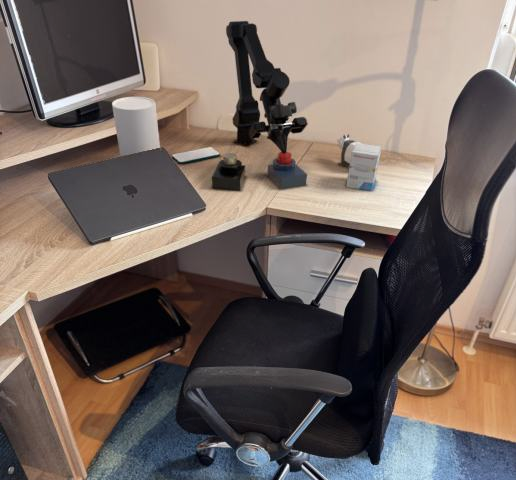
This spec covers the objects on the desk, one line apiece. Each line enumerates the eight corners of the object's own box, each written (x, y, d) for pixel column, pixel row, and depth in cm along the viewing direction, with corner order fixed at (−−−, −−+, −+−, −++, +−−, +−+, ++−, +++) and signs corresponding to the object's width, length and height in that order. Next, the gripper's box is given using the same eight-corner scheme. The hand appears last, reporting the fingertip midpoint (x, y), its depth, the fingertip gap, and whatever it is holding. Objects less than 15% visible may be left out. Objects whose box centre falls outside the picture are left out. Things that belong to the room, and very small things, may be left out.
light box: (219, 174, 168) (218, 157, 164) (245, 176, 167) (245, 159, 164) (212, 188, 159) (211, 171, 156) (240, 191, 159) (240, 174, 155)
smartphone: (180, 165, 173) (221, 156, 179) (179, 162, 172) (221, 154, 178) (171, 157, 178) (211, 149, 184) (170, 154, 177) (211, 146, 183)
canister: (167, 168, 170) (161, 106, 157) (130, 175, 165) (120, 112, 152) (152, 154, 179) (145, 94, 165) (116, 161, 173) (106, 99, 160)
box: (266, 175, 168) (267, 159, 164) (290, 171, 171) (291, 155, 167) (281, 189, 160) (282, 172, 157) (306, 185, 163) (307, 168, 159)
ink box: (375, 181, 167) (382, 146, 159) (371, 191, 161) (378, 155, 153) (350, 177, 169) (356, 142, 161) (345, 186, 163) (351, 151, 155)
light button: (224, 160, 163) (224, 152, 161) (238, 162, 163) (238, 153, 161) (222, 166, 160) (222, 157, 158) (235, 167, 160) (235, 158, 158)
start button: (275, 161, 164) (275, 152, 163) (287, 159, 166) (288, 151, 164) (281, 166, 161) (281, 157, 160) (293, 164, 163) (293, 155, 161)
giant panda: (367, 171, 173) (372, 143, 167) (354, 174, 171) (359, 146, 164) (342, 156, 182) (346, 129, 176) (329, 159, 180) (333, 132, 174)
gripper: (253, 95, 151) (266, 144, 151) (307, 90, 157) (320, 137, 157) (243, 114, 162) (255, 160, 162) (295, 109, 167) (306, 153, 167)
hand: (284, 153), depth 161 cm, fingers closed
